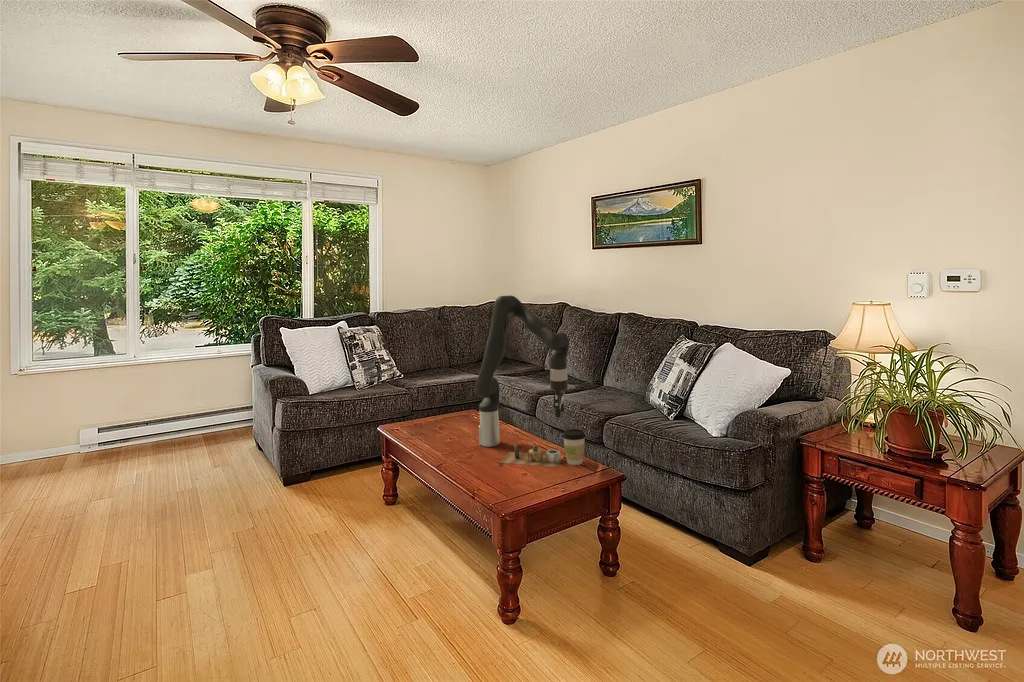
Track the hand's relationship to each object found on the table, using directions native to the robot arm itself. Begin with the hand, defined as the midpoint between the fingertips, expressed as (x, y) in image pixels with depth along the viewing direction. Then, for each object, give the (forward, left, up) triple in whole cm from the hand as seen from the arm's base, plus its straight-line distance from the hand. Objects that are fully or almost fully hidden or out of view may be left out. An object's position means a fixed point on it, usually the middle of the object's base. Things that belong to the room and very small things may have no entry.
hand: (559, 414), depth 233 cm
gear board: (-12, -5, -21) cm, 24 cm away
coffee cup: (+7, -5, -21) cm, 23 cm away
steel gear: (-2, -5, -19) cm, 20 cm away
